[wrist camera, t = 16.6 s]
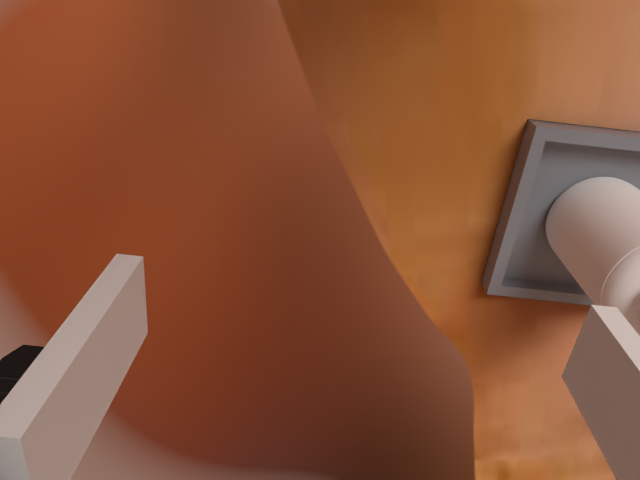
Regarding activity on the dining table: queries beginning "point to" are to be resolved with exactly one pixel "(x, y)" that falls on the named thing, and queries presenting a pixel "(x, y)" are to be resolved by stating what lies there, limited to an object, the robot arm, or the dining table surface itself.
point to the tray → (537, 199)
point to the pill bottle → (600, 241)
